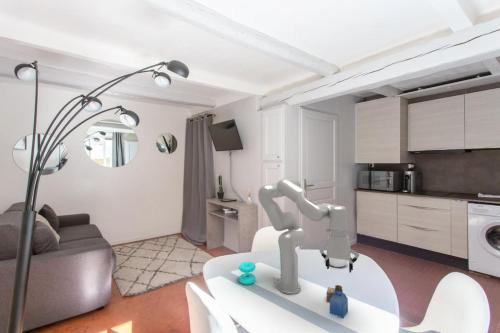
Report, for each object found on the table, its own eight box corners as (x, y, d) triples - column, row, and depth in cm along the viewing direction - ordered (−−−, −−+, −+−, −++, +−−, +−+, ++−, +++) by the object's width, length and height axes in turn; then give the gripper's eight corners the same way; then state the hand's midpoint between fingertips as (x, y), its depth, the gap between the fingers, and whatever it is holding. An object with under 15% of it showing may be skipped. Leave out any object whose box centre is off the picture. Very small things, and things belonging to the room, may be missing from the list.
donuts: (240, 260, 151) (256, 261, 149) (241, 276, 151) (257, 277, 149) (236, 267, 141) (253, 268, 139) (237, 284, 141) (254, 286, 139)
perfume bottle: (334, 306, 119) (334, 282, 118) (347, 311, 115) (347, 286, 114) (329, 313, 114) (329, 287, 114) (343, 318, 110) (343, 291, 110)
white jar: (322, 264, 165) (322, 245, 165) (332, 259, 174) (332, 240, 174) (341, 271, 156) (341, 250, 155) (351, 264, 165) (350, 244, 164)
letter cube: (326, 301, 123) (326, 291, 123) (328, 296, 127) (328, 286, 127) (337, 304, 121) (337, 293, 121) (338, 298, 125) (338, 289, 125)
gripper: (317, 233, 114) (318, 269, 114) (358, 237, 106) (359, 276, 106) (320, 228, 120) (321, 263, 121) (359, 232, 113) (359, 269, 113)
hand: (339, 269), depth 113 cm, fingers open, 9 cm apart
